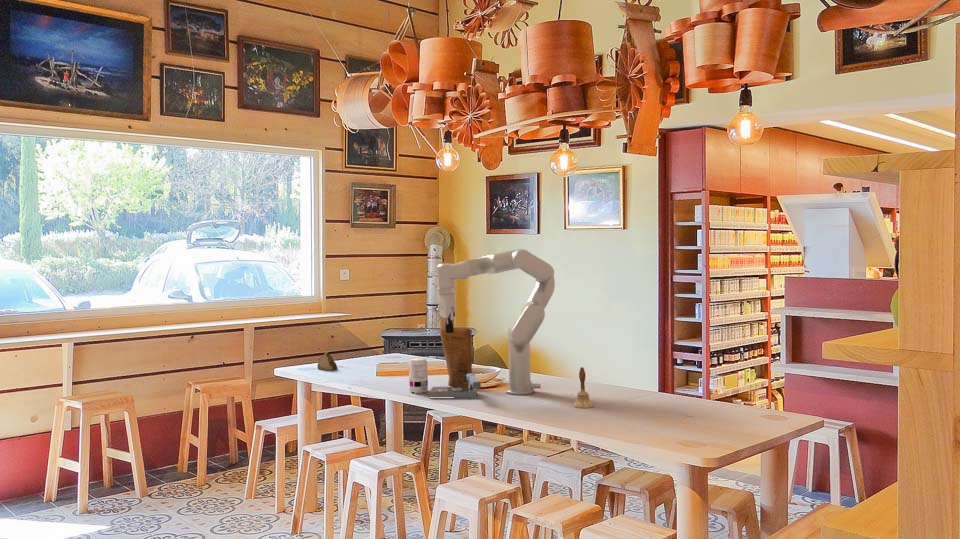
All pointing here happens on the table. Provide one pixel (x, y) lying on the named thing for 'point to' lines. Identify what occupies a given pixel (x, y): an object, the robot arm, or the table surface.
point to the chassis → (453, 392)
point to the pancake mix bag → (458, 355)
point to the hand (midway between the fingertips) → (449, 332)
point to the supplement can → (418, 375)
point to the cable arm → (473, 381)
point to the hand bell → (582, 393)
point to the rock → (327, 362)
